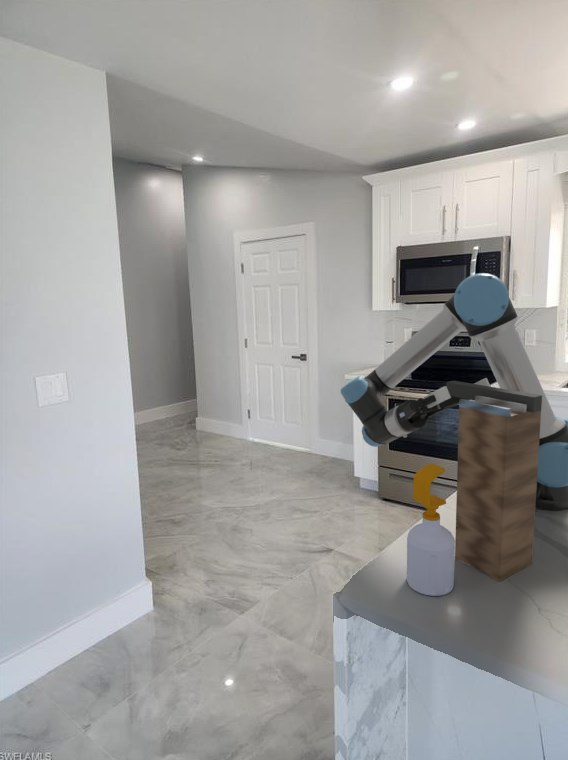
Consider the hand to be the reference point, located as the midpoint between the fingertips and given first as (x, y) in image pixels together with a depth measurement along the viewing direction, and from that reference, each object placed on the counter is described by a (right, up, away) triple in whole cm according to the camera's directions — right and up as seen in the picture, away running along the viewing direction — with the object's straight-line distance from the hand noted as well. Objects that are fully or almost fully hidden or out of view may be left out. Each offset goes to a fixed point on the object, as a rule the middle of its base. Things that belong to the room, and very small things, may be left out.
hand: (468, 387), depth 110 cm
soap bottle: (-11, -39, -9) cm, 42 cm away
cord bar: (+3, -3, -4) cm, 6 cm away
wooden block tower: (+4, -37, -2) cm, 38 cm away
